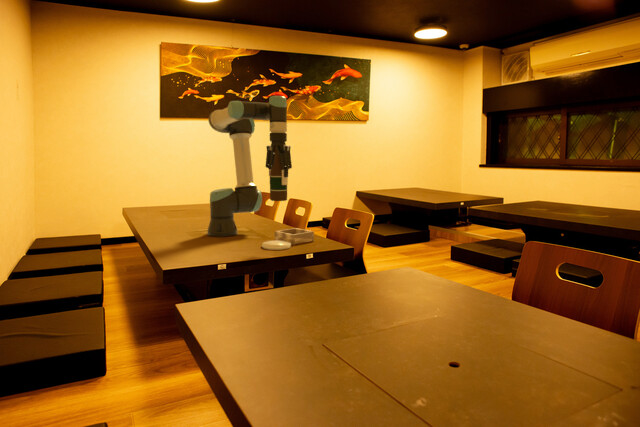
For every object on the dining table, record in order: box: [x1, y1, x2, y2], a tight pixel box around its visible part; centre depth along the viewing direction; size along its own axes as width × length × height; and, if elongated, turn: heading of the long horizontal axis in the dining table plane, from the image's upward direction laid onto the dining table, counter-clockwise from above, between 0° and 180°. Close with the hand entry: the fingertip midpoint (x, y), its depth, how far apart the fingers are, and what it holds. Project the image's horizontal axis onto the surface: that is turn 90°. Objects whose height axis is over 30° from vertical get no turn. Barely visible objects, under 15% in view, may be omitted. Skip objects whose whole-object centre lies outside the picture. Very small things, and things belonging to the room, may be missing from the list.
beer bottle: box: [269, 146, 288, 202], centre depth 195 cm, size 8×8×24 cm
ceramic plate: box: [261, 240, 292, 251], centre depth 199 cm, size 13×13×2 cm
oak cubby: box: [274, 227, 315, 246], centre depth 212 cm, size 13×13×4 cm
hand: (278, 184), depth 196 cm, fingers closed on beer bottle, 8 cm apart
